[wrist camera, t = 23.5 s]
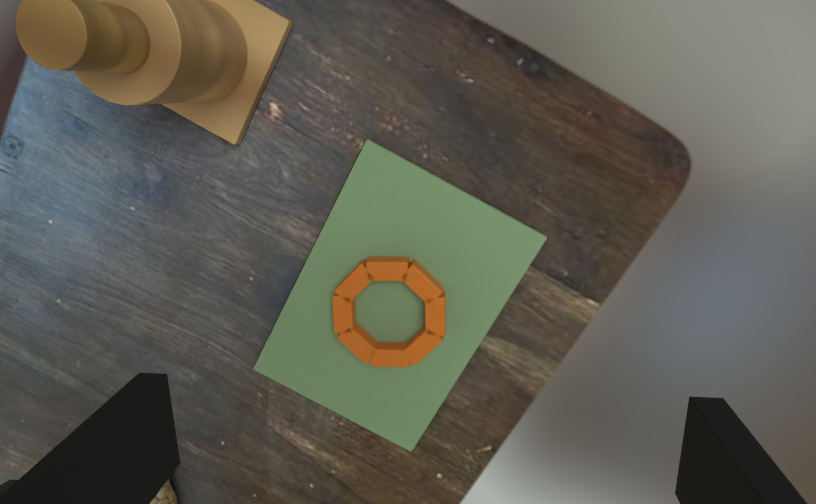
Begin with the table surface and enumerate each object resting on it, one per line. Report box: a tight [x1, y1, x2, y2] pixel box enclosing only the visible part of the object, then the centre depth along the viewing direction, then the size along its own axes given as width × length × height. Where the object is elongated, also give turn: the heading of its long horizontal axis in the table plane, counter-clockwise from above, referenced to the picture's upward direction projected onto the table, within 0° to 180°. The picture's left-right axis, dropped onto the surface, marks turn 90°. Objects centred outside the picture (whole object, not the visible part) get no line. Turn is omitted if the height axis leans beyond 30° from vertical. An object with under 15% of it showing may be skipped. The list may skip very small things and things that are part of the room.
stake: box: [16, 0, 293, 145], centre depth 31 cm, size 9×9×15 cm
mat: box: [253, 139, 547, 452], centre depth 42 cm, size 20×14×1 cm
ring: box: [332, 256, 446, 367], centre depth 41 cm, size 8×8×1 cm
